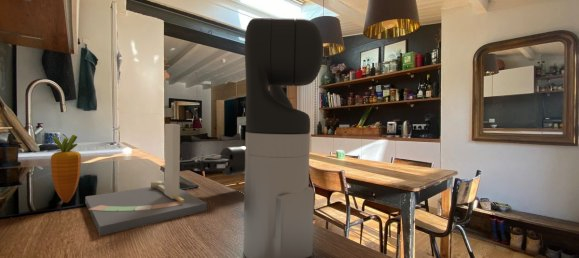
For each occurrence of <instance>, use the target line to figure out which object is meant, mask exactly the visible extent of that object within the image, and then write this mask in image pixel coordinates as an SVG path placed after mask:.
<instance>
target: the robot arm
mask: <svg viewBox="0 0 579 258" xmlns="http://www.w3.org/2000/svg"><path fill="white" fill-rule="evenodd" d="M244 34H245V36H244V61H245V62H244V63H245V66H244V67H245V69H244V70H245V94H246V95H245V96H246V97H245V144H244V145H243V146H227V147H224V148H222V150H220V151H221V152H220V154H217V153H212V154H208V155H204V154H202V155H198V156H194V157H191V158H190V159H187V160H185V159H184V160H180V172H186V171H195V172H198V171H199V172H222V173H223V174H224V175H226V176H233V175H240V174H244V195H243V197H244V198H243V199H244V200H243V203H244V205H243V207H244V208H243V213H244V214H243V254H244V257H245V258H309V257H311V256H312V255H313V246H314V240H313V239H314V212H315V209H314V208H315V207H314V206H315V205H314V204H315V199H314V198H315V189H314V188H313V187H311V186H309V185H310V184H309V183H310V182H309V180H310V176H309V175H310V148H311V147H310V146H311V142H310V141H311V139H310V137H311V118H310V115H309V114H307V112H304V111H302V110H300V109H297V108H294V107H293V104H292V102H291V100H290V98H289V97H288V95H287V94H286V92H285V91H284V89H283V88H282V87H283V86H285V87H287V86H288V87H301V86H302V87H303V86H308V85H310V84H312V83H313V82H314V81H315V80H316V78H317V77H318V75H319V74H320V71H321V68H322V64H323V60H324V49H325V48H324V42H323V41H324V40H323V37H322V33H321V31H320V29H319V27H318V25H317V24H316V23H315V22H314V21H311V20H309V19H306V18H305V19H304V18H298V17H297V18H293V17H292V18H290V17H289V18H287V17H286V18H285V17H253V18H252V19H250V20H249V22H248V24H247V26H246V29H245V33H244Z"/></svg>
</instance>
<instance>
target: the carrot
mask: <svg viewBox="0 0 579 258" xmlns="http://www.w3.org/2000/svg"><path fill="white" fill-rule="evenodd" d="M77 138H78V136H77V135H76V134H71V137H70V138H69V137H64V138H63V140H62V142H61V141H60V139H59V138H57V136H53V138H52V140H53V142H54V143H55V144H56V146H57V147H58V148H59V150H60V151H57V152H55V153H53V154H52V155H51V157H50V169H51V170H50V171H51V179H52V182H53V183H52V184H53V186H54V190H55V192H56V193H57V195H58V197H59V198H60V200H61V201H62V202H63V203H65V204H68V203H69V202H70V201H71V199H72V198H73V197H74V195H75V193H76V190H77V188H78V185H79V181H80V176H81V168H82V167H81V166H82V154H81V153H80V152H78V151H76V150H75V151H73V149H74V148H75V147H76V146H78V143H75V142H76V140H77Z"/></svg>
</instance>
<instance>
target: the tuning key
mask: <svg viewBox="0 0 579 258" xmlns="http://www.w3.org/2000/svg"><path fill="white" fill-rule="evenodd" d="M180 156H181V124H177V123H176V124H175V123H165V124H164V180H153V181H151V182H150V187H151V188H158V189H159V190H161V191H162V192H164V194H165V195H167V196H168V197H170V198H171V199H174V198H175V199H177V200H178V201H180V202H181V203H182V202H184V199H183V198H181V197H179V188H180V174H181V173H180V172H181V171H180V161H181V157H180Z"/></svg>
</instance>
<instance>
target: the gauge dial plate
mask: <svg viewBox="0 0 579 258" xmlns="http://www.w3.org/2000/svg"><path fill="white" fill-rule="evenodd" d="M179 197H181V198H183V199H184V202H182V203H181V202H180V201H178V200H177V199H175V198H174V199H171V198H170V197H168V196H167V195H165V194H164V192H162V191H161V190H159V189H158V188H151V186H148V187H143V188H136V189H135V188H134V189H129V190H128V189H127V190H121V191H115V192H114V191H113V192H107V193H101V194H95V195H87V196H85V205H86V208H87V210H88V212H89V214H90V216H91V219H92V221H93V224H94V226H95V228H96V231H97V233H98V235H99V237H101V236H106V235H109V234H113V233H118V232H122V231H126V230H130V229H135V228H138V227H143V226H146V225H147V226H148V225H152V224H156V223H159V222H163V221H167V220H172V219H176V218H181V217H185V216H189V215H194V214H197V213H202V212H205V211H208V203H207V202H206V201H204V200H202V199H200V198H198V197H196V196H194V195H193V194H190V193H189V192H187V191H186V190H184V189H181V188H180V187H179Z"/></svg>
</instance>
